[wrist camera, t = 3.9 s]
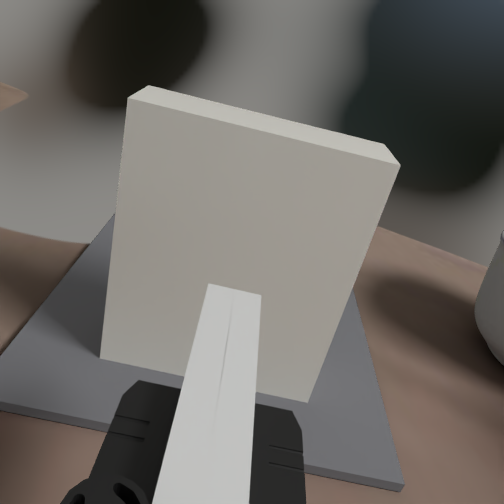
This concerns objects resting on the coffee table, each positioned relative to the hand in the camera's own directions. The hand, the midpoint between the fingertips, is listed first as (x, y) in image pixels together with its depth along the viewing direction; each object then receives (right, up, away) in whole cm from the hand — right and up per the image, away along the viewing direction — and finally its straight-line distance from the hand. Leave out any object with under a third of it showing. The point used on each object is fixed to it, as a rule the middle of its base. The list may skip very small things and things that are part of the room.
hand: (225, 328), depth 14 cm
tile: (-1, -3, +10) cm, 11 cm away
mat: (-1, -1, +16) cm, 16 cm away
